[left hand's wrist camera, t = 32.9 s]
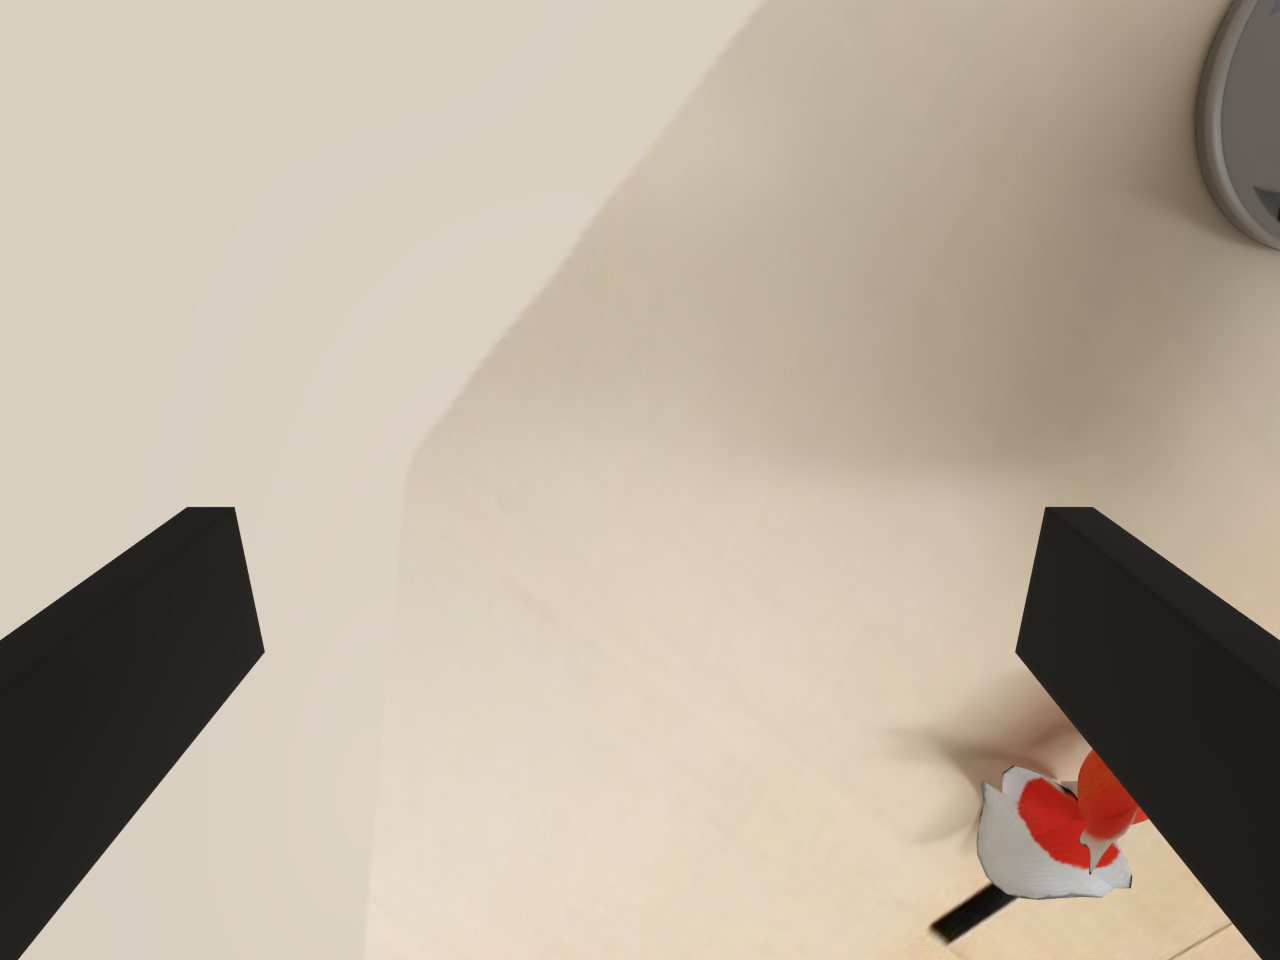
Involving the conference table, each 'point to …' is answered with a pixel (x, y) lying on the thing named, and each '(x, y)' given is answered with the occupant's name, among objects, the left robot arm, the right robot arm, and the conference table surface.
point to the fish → (1056, 833)
